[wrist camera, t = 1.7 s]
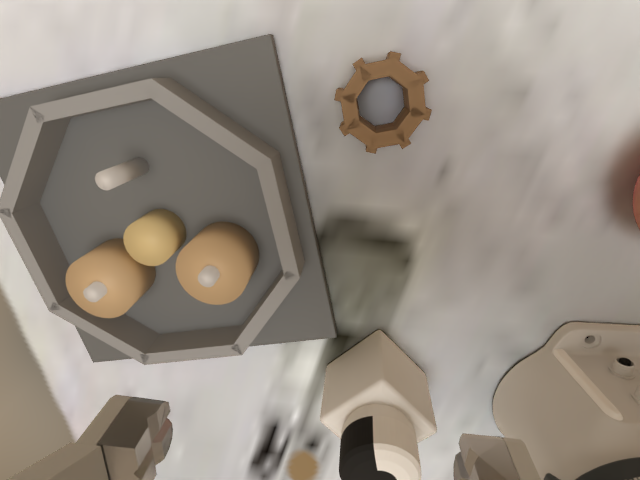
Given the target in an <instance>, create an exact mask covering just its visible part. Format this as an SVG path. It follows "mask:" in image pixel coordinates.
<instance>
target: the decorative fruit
mask: <svg viewBox="0 0 640 480" xmlns="http://www.w3.org/2000/svg"><path fill="white" fill-rule="evenodd" d="M633 212H634V217H635V220H636V223H637V225H638V227H639V229H640V175H639V177H638V179H637V181H636V184H635V187H634V192H633Z"/></svg>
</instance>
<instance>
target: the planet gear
mask: <svg viewBox="0 0 640 480" xmlns="http://www.w3.org/2000/svg"><path fill="white" fill-rule="evenodd" d="M400 56H401V53H396V52H391V51H390V52H389V53H388V54H387V58H386V60H382V61H378V62H373V63H368V64H365V62H364V61H363V59H362V58H361V59H359V60H358V61H356V62H355V63H354V64H353V66H354V68H355V69H356V72H355V73H354V75H353V77H352V78H351V80H350V81H349V83H348V84H347V86H346V87H345V89H343V88H338V89H336V94H335V99H334V100H336V101H341V106H342V112H343V118H344V121H343V122H342V123H341V125H340V127H339V128H340V130H341V131H342V133H343V135H344V136H346V135H347V134H349V133H350V134H352V135H353V136H354V137H356V138H357V139H359V140H360V141H362V142H363V143H364V144H366V152H370V153H375V154H376V151H377V148H381V147H386V146H392V145H397V144H400V146H401V148H402V149H403V148H405V147H406V146H408V145H409V144H411V142H410V141H409V139H408V138H409V137H410V136H411V134H412V133H413V132H414V130H415V129H416V128H417V126H418V125H419V124H420V122H421V121H422V120H423V119H424V120H428V121H429V118H430V114H431V111H432V110H431V109H429V108H427V107H426V106H425V97H424V86H423V84H425V83H426V82H428V81H429V80H428V78H427V76H426V74H425V72H424V71H417V72H416V73H414V72H413V71H412V70H410V69H409V68H408V67H406V66H405V65H404V64H402V63H401V62H400V61H399V60H400ZM383 77H390V78H391V79H392V80H394V81H395V82H396V83H398V84H399V85H400V86H402V89H403V98H404V108H403V109H402V111H401V112H400V114H399V115H398V116H397V118H396V119H395V120H394V122H393V123H388V124H383V125H378V126H374V125H372V124H371V123H370V122H368V121H367V120H365V119H364V118H363V117H361V116H360V114H359V107H358V101H357V97H358V95H359V94H360V92H361V91H362V89H363V88H364V86H365V85H366V83H367V82H368V80H373V79H378V78H383Z"/></svg>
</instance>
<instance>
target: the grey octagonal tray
mask: <svg viewBox="0 0 640 480" xmlns="http://www.w3.org/2000/svg"><path fill="white" fill-rule="evenodd" d="M0 177H1V179H2V181H3V183H4V185H5V186H4V189H3V192H2V195H1V198H0V218H1V219H2V221H3V223H4V225H5V227H6V229H7V231H8V233H9V235H10V237H11V239H12V241H13V243H14V244H15V246H16V248H17V250H18V252H19V254H20V256H21V258H22V260H23V262H24V264H25V266H26V268H27V269H28V271H29V273H30V275H31V277H32V279H33V281H34V283H35V285H36V287H37V289H38V291H39V293H40V294H41V296H42V298H43V300H44V302H45V304H46V306H47V308H48V310H49V311H50V312H52V313H54V314H55V315H57V316H59V317H61V318H62V319H64V320H66V321H68V322H70V323H71V324H73V325H75V327H76V329H77V331H78V333H79V335H80V337H81V339H82V341H83V343H84V345H85V347H86V349H87V351H88V353H89V355H90V357H91V359H92V361H93V362H102V361H112V360H122V359H131V358H133V359H135V360H137V361H139V362H140V363H142V364H144V365H147V364H157V363H167V362H177V361H187V360H197V359H207V358H217V357H228V356H238V355H243V353H244V352H245V351H246V349H247V348H248V347H249V346H257V345H267V344H277V343H286V342H296V341H306V340H315V339H325V338H335V337H336V336H337V329H336V324H335V320H334V315H333V310H332V306H331V301H330V296H329V292H328V287H327V283H326V278H325V273H324V269H323V264H322V259H321V255H320V250H319V246H318V241H317V236H316V232H315V227H314V223H313V218H312V213H311V209H310V204H309V199H308V195H307V190H306V186H305V181H304V176H303V172H302V167H301V162H300V158H299V153H298V149H297V144H296V139H295V135H294V130H293V125H292V121H291V116H290V112H289V107H288V102H287V98H286V93H285V88H284V84H283V79H282V75H281V70H280V65H279V61H278V56H277V52H276V47H275V42H274V38H273V35H271V34H268V35H264V36H260V37H256V38H252V39H247V40H243V41H239V42H235V43H231V44H226V45H222V46H218V47H214V48H210V49H206V50H201V51H197V52H193V53H189V54H185V55H181V56H176V57H172V58H168V59H164V60H160V61H156V62H151V63H147V64H143V65H139V66H135V67H130V68H126V69H122V70H118V71H114V72H110V73H105V74H101V75H97V76H93V77H89V78H85V79H80V80H76V81H72V82H68V83H64V84H60V85H55V86H51V87H47V88H43V89H39V90H34V91H30V92H26V93H22V94H18V95H14V96H9V97H5V98H1V99H0Z"/></svg>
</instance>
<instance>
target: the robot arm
mask: <svg viewBox="0 0 640 480" xmlns="http://www.w3.org/2000/svg"><path fill="white" fill-rule="evenodd" d="M587 336H590V337H589V338H586V337H587ZM585 338H586V339H585ZM169 413H170V407H169V402H166V401H160V400H153V399H145V398H138V397H129V396H121V395H115V396H113V397H112V398H110V399H109V400H108V402H107V403H106V404H105V406H104V407H103V408H102V409H101V411H100V412H99V413H98V415H97V416H96V417H95V419H94V420H93V421H92V422H91V424H90V425H89V426H88V428H87V429H86V430H85V432H84V433H83V434H82V435H81V437H80V438H79V439H78V441H77V442H76V443H72V442H71V443H69V444H67V445H65V446H64V447H62V448H60V449H58V450H57V451H55V452H53V453H52V454H50V455H48V456H47V457H45V458H43V459H42V460H40V461H38V462H36V463H35V464H33V465H31V466H29V467H28V468H26V469H24V470H23V471H21V472H19V473H18V474H16V475H14V476H12V477H11V478H9V479H7V480H154V478H155V476H156V468H155V465H157V464H158V463H159V462H161V461H162V460H164V458H165V456H166V454H167V452H168V450H169V447H170V444H171V440H172V433H173V428H172V423H171V421H170V420H169V419H168V418H167V416H168V414H169ZM493 416H494V420H495V422H496V425H497V427H498V429H499V430H500V432H501V433H502V434H503V435H504V436H505V438H504V437H501V438H500V437H496V436H485V435H475V434H465V433H463V434H462V435H461V437H460V440H459V446H460V450H461V452H459V453H458V454H457V455H456V456H455V461H454V480H640V325H624V324H605V323H586V322H571V323H567V324H565V325H563V326H562V327H561V328H560V329H558V330H557V331H556V333H555V334H554V335H553V336H552V337H551V339H550V340H549V341H548V342H547V344H546V345H545V346H544V347H543V348H541V349H540V350H539V351H537V352H536V353H534V354H532V355H531V356H529V357H527V358H526V359H524V360H523V361H521V362H520V363H518V364H517V365H516V366H515V367H514V368H512V369H511V370H510V371H509V372H508V373H507V375H506V376H505V377H504V378H503V380H502V381H501V383H500V384H499V386H498V388H497V390H496V393H495V396H494V400H493Z"/></svg>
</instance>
